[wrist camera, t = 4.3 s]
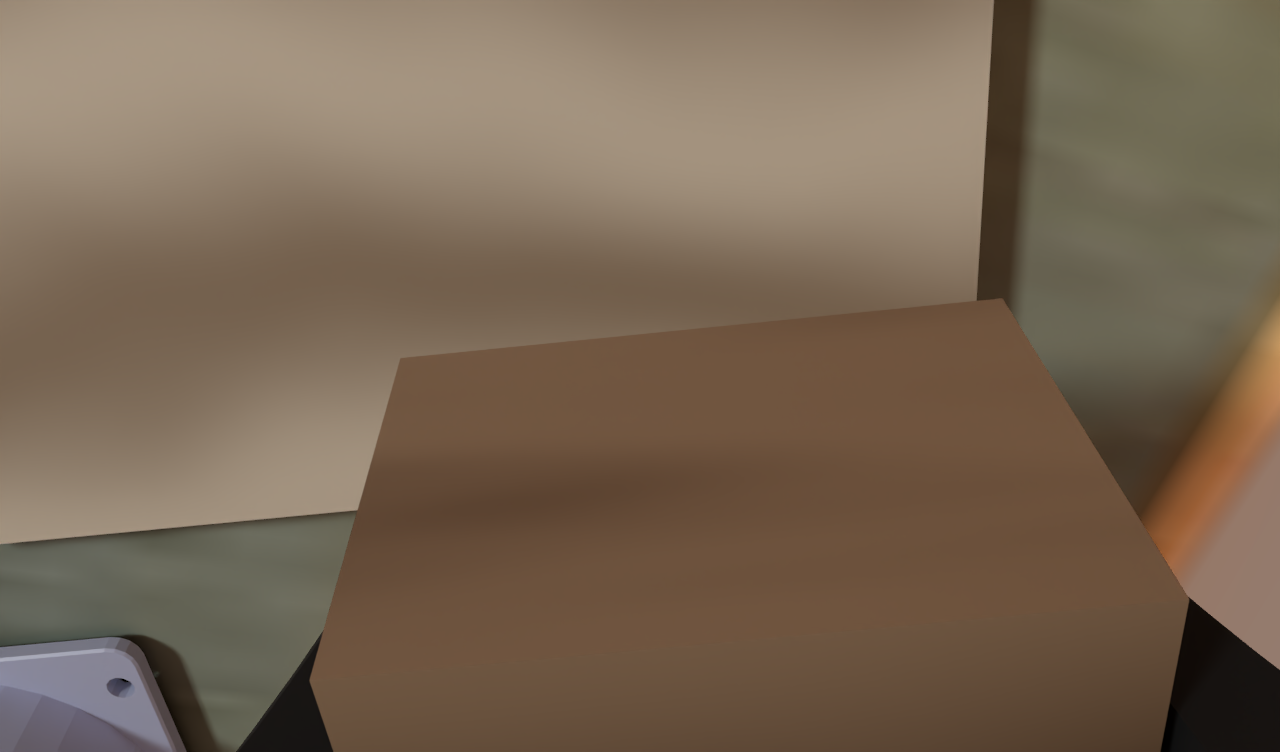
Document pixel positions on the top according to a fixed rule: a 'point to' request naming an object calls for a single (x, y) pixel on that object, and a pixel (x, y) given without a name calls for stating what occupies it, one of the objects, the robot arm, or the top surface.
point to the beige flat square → (430, 213)
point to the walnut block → (748, 551)
